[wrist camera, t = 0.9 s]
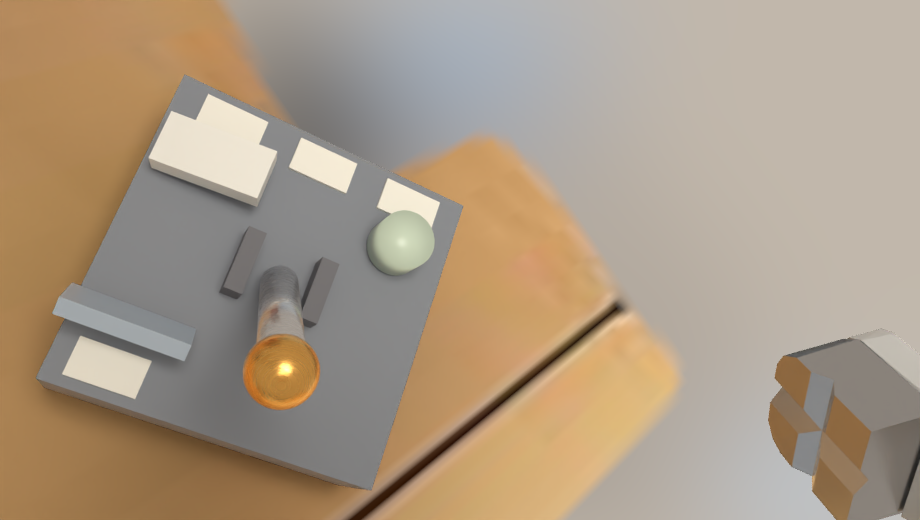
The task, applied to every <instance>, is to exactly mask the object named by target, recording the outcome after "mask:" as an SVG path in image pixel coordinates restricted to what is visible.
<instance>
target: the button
mask: <svg viewBox="0 0 920 520" xmlns="http://www.w3.org/2000/svg"><path fill="white" fill-rule="evenodd" d="M434 244H435V239H434V234H433V231H432V228H431V226H430V225H429V223H428V222H427V221H426V220H425V219H424V218H423V217H422V216H421V215H419V214H417V213H415V212H412V211H407V210H401V211H397V212H394V213H392V214H390V215H389V216H388V217H386V218H385V219H384V220H383V221H381V222H380V223H379V224H378V225H376V226H375V227H374V228H373V229H372V231H371V232H370V234H369V236H368V240H367V251H368V255H369V258H370V260H371V261H372V263H373V264H374V265H375V267H376V268H378V269H379V270H380V271H382V272H384V273H386V274H388V275H395V276H397V275H403V274H406V273H408V272H410V271H412V270H413V269H415V268H417V267H419V266H420V265H422V264H424V263H425V262H426V261H427V260H428V259H429V258H430V256H431V255H432V252H433V250H434Z"/></svg>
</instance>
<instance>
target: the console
mask: <svg viewBox="0 0 920 520" xmlns="http://www.w3.org/2000/svg"><path fill="white" fill-rule="evenodd" d="M171 111H173V112H176V113H178V114H181V115H184V116H186V117H189V118H191V119H194V120H197V121H199V122H202V123H205V124H207V125H210V126H212V127H215V128H218V129H220V130H223V131H225V132H228V133H231V134H233V135H236V136H239V137H241V138H244V139H246V140H249V141H252V142H254V143H257V144H259V145H262V146H265V147H267V148H270V149H273V150H275V151H277V161H276V163H275V166H274V168H273V170H272V173H271V175H270V178H269V180H268V182H267V185H266V187H265V189H264V192H263V194H262V196H261V199H260V201H259V203H258V206H257V207H256V206H253V205H250V204H248V203H245V202H242V201H240V200H237V199H234V198H231V197H229V196H226V195H223V194H221V193H218V192H215V191H213V190H210V189H207V188H204V187H202V186H199V185H196V184H194V183H191V182H188V181H186V180H183V179H180V178H177V177H175V176H172V175H169V174H167V173H164V172H161V171H159V170H156V169H153V168H151V165H150V162H149V156H150V154H151V152H152V150H153V147H154V145H155V143H156V141H157V139H158V137H159V135H160V133H161V131H162V129H163V127H164V125H165V123H166V121H167V119H168V117H169V115H170V113H171ZM462 208H463V206H462V205H460V204H458V203H456V202H454V201H452V200H450V199H447V198H445V197H443V196H441V195H439V194H437V193H435V192H433V191H430V190H428V189H426V188H424V187H422V186H420V185H418V184H416V183H414V182H411V181H409V180H407V179H405V178H403V177H401V176H399V175H397V174H394V173H392V172H390V171H388V170H386V169H384V168H382V167H380V166H378V165H375V164H373V163H371V162H369V161H367V160H365V159H363V158H360V157H358V156H356V155H354V154H352V153H350V152H348V151H346V150H344V149H341V148H339V147H337V146H335V145H333V144H331V143H329V142H327V141H324V140H322V139H320V138H318V137H316V136H314V135H312V134H310V133H308V132H305V131H303V130H301V129H299V128H297V127H295V126H293V125H291V124H288V123H286V122H284V121H282V120H280V119H278V118H276V117H274V116H272V115H269V114H267V113H265V112H263V111H261V110H259V109H257V108H255V107H252V106H250V105H248V104H246V103H244V102H242V101H240V100H238V99H235V98H233V97H231V96H229V95H227V94H225V93H223V92H221V91H219V90H216V89H214V88H212V87H210V86H208V85H206V84H204V83H202V82H199V81H197V80H195V79H193V78H191V77H189V76H187V75H184V77H183V79H182V81H181V83H180V85H179V87H178V89H177V91H176V93H175V95H174V97H173V99H172V101H171V103H170V105H169V107H168V109H167V111H166V113H165V115H164V117H163V120H162V122H161V124H160V126H159V128H158V130H157V132H156V134H155V136H154V138H153V140H152V142H151V144H150V146H149V148H148V150H147V152H146V154H145V156H144V158H143V160H142V162H141V164H140V166H139V168H138V170H137V172H136V175H135V177H134V179H133V181H132V183H131V185H130V187H129V189H128V191H127V193H126V195H125V197H124V199H123V201H122V203H121V205H120V207H119V209H118V211H117V213H116V215H115V217H114V219H113V221H112V223H111V225H110V227H109V230H108V232H107V234H106V236H105V238H104V240H103V242H102V244H101V246H100V248H99V250H98V252H97V254H96V256H95V258H94V260H93V262H92V264H91V266H90V268H89V270H88V272H87V274H86V276H85V278H84V280H83V282H82V285H81V286H83V287H86V288H88V289H91V290H94V291H96V292H99V293H102V294H104V295H107V296H110V297H112V298H115V299H118V300H120V301H123V302H126V303H128V304H131V305H134V306H136V307H139V308H142V309H144V310H147V311H150V312H152V313H155V314H158V315H160V316H163V317H166V318H168V319H171V320H174V321H176V322H179V323H182V324H184V325H187V326H190V327H192V328H195V329H196V332H195V335H194V339H193V342H192V346H191V348H190V350H189V352H188V354H187V357H186V359H185V361H182V360H179V359H176V358H174V357H171V356H168V355H165V354H163V353H160V352H157V351H154V350H151V349H149V348H146V347H143V346H140V345H138V344H135V343H132V342H129V341H126V340H124V339H121V338H118V337H115V336H113V335H110V334H107V333H104V332H102V331H99V330H96V329H93V328H90V327H88V326H85V325H82V324H79V323H77V322H74V321H71V320H68V319H64V321H63V323H62V325H61V327H60V329H59V331H58V333H57V335H56V337H55V339H54V342H53V344H52V346H51V348H50V350H49V352H48V354H47V356H46V358H45V360H44V362H43V364H42V366H41V368H40V370H39V372H38V374H37V376H36V379H37V380H38V381H39V383H40V384H41V385H42V386H43V387H44V388H47V389H50V390H53V391H56V392H59V393H62V394H65V395H68V396H71V397H74V398H77V399H80V400H83V401H86V402H89V403H92V404H95V405H98V406H101V407H104V408H107V409H110V410H113V411H116V412H119V413H122V414H125V415H128V416H131V417H134V418H137V419H140V420H143V421H146V422H149V423H152V424H155V425H158V426H161V427H165V428H168V429H171V430H174V431H177V432H180V433H183V434H186V435H189V436H192V437H195V438H198V439H201V440H204V441H207V442H210V443H213V444H216V445H219V446H222V447H225V448H228V449H231V450H234V451H237V452H240V453H243V454H246V455H249V456H252V457H255V458H258V459H261V460H264V461H267V462H270V463H273V464H276V465H279V466H282V467H285V468H288V469H291V470H294V471H297V472H300V473H303V474H306V475H309V476H312V477H315V478H318V479H321V480H324V481H327V482H330V483H333V484H336V485H340V486H346V487H352V488H359V489H365V490H372V487H373V484H374V481H375V478H376V475H377V471H378V468H379V465H380V462H381V459H382V456H383V453H384V450H385V447H386V444H387V440H388V437H389V434H390V431H391V428H392V425H393V422H394V419H395V416H396V413H397V410H398V406H399V403H400V400H401V397H402V394H403V391H404V388H405V385H406V382H407V379H408V376H409V372H410V369H411V366H412V363H413V360H414V357H415V354H416V351H417V348H418V345H419V341H420V338H421V335H422V332H423V329H424V326H425V323H426V320H427V317H428V314H429V311H430V307H431V304H432V301H433V298H434V295H435V292H436V289H437V286H438V283H439V280H440V277H441V273H442V270H443V267H444V264H445V261H446V258H447V255H448V252H449V249H450V246H451V242H452V239H453V236H454V233H455V230H456V227H457V224H458V221H459V218H460V215H461V212H462ZM401 210H407V211H412V212H415V213H417V214H419V215H421V216H422V217H423V218H424V219H425V220H426V221H427V222H428V223H429V225H430V226H431V228H432V231H433V234H434V239H435V244H434V250H433V252H432V255H431V256H430V258H429V259H428V260H427V261H426V262H425V263H424V264H422V265H420V266H419V267H417V268H415V269H413V270H412V271H410V272H408V273H406V274H403V275H397V276H395V275H388V274H386V273H384V272H382V271H380V270H379V269H378V268H376V267H375V265H374V264H373V263H372V261H371V260H370V258H369V255H368V251H367V240H368V236H369V234H370V232H371V231H372V229H373V228H374V227H375V226H376V225H378V224H379V223H380V222H381V221H383V220H384V219H385V218H386V217H388V216H389V215H390V214H392V213H394V212H397V211H401ZM277 265H281V266H286V267H288V268H290V269H291V270H293V271H294V273H295V274H296V276H297V278H298V282H299V291H300V300H301V308H302V317H303V326H304V334H305V341H306V342H307V343H308V344H309V345H310V346H311V347H312V348H313V349H314V351H315V353H316V355H317V357H318V360H319V364H320V378H319V382H318V384H317V387H316V389H315V391H314V392H313V394H312V395H311V396H310V397H309V398H308V399H307V400H306V401H305V402H304V403H302V404H300V405H299V406H297V407H294V408H291V409H287V410H274V409H269V408H266V407H264V406H262V405H260V404H259V403H257V402H256V401H255V400H254V399H253V398H252V397H251V396H250V394H249V393H248V391H247V389H246V387H245V385H244V381H243V365H244V361H245V358H246V356H247V354H248V352H249V351H250V350H251V348H252V347H253V346H254V345H255V344H256V342H257V326H258V309H259V292H260V280H261V277H262V275H263V274H264V272H265V271H266V270H267V269H269V268H271V267H273V266H277Z"/></svg>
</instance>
